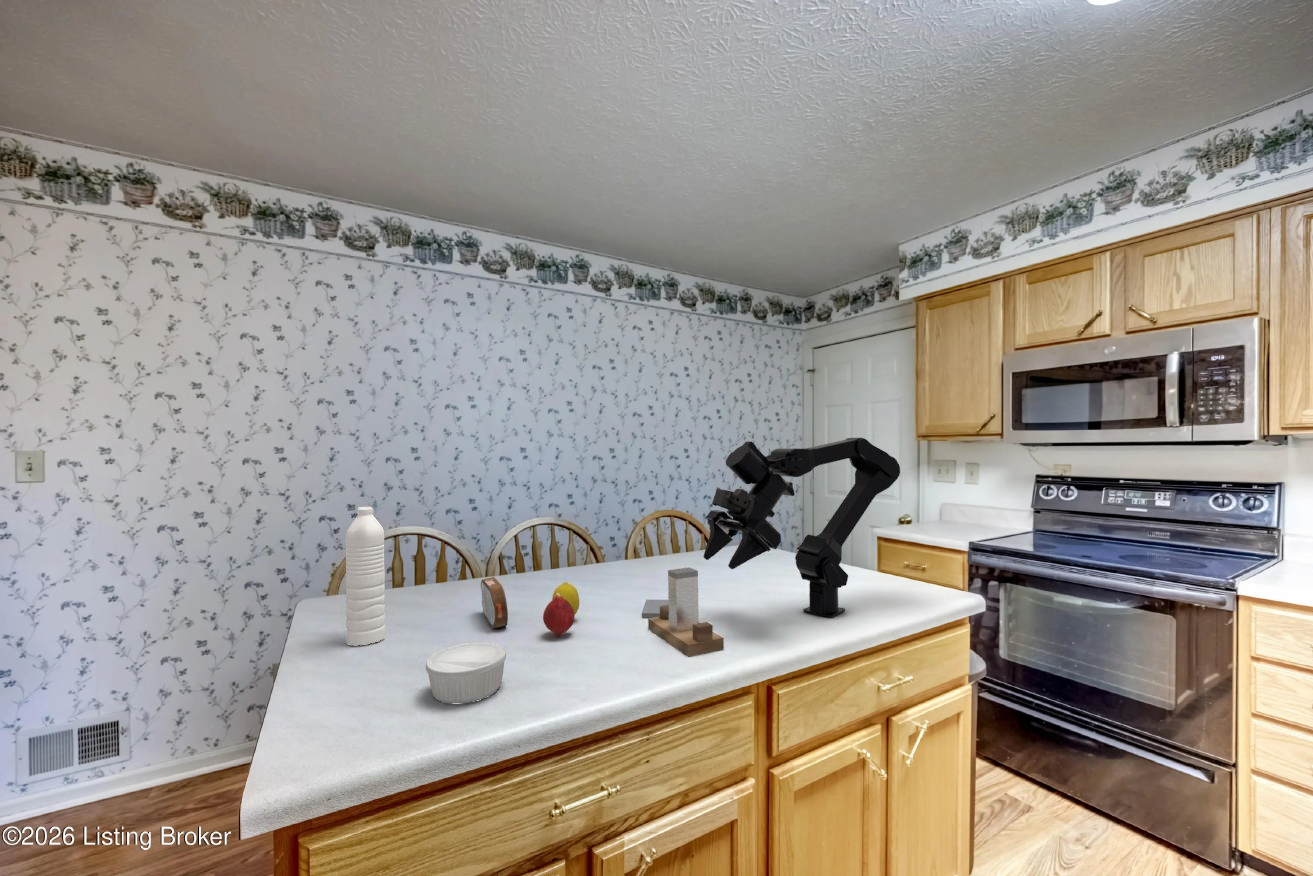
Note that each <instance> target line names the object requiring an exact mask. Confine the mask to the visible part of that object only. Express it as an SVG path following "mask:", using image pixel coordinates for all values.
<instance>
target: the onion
mask: <svg viewBox="0 0 1313 876" xmlns="http://www.w3.org/2000/svg"><path fill="white" fill-rule="evenodd" d="M575 615H576V614H574V610H573V607H572V606H571V605H570V603H569V602H568V601H567V600H566V599H564V598H563V597H561V596H560V594H559V593H556V596H555V599H553V600H552V599H551V600H550V601H549V603H548V604H547V605H546V606H545V608H544V610H543V614H542V620H543V623H544V625H545V627H546V628H547V629H548V630H549V631H550V632H551V633H552V634H554V635H555V636H556V637H560V636H562V635H564V634H565V633H566V632H568V630H569V629H571V627H572V626H573V624H574V623H575V622H574V621H575Z"/></svg>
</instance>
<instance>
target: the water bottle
mask: <svg viewBox="0 0 1313 876" xmlns="http://www.w3.org/2000/svg"><path fill="white" fill-rule="evenodd" d="M356 513H357V515H356V516H355V518H354V519H353V521H352V522H351V524H350V526H348V529H346V532H345V537H344V539H345V555H346V556H345V573H346V574H345V586H346V589H345V598H346V599H345V604H346V607H345V608H346V609H345V617H346V620H345V627H346V631H345V634H346V635H345V636H346V637H345V640H346V641H345V642H346V644H347V643H348V644H351V645H350V646H352V645H360V646H361V645H365V644H370V643H372V644H373V643H375V642H378V641H380V640H381V641H383V640H384V639H385V638H386V614H385V613H386V605H385V604H386V594H385V593H386V584H385V581H386V580H385V579H386V575H385V568H386V567H385V530H384V528H383V526H382V525H381V524H380V522H379V521H378V520H377V518H376V517H375V515H373V514H374V508H373V507H372V506H359V507H357V512H356ZM382 639H383V640H382ZM381 641H380V642H381ZM378 643H379V642H378ZM348 644H347V645H348ZM375 644H376V643H375ZM370 645H371V644H370Z"/></svg>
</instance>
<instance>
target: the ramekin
mask: <svg viewBox="0 0 1313 876" xmlns="http://www.w3.org/2000/svg"><path fill="white" fill-rule="evenodd" d="M506 659H507V651H506V648H505V647H503V646H502V645H500V644H497V643H492V642H483V641H480V642H465V643H460V644H456V645H453V646H448V647H446V648H443V649H441V650H438V651H437V652H435V653H433V654H432V655H431V656H429V657H428V658H427V660H426V662H425V671H426V672H427V674H428V679H429V684H430V689H431V692H432V696H433V698H435V699H436V700H437V701H438V700H439V701H438V702H440V701H441V702H440V703H442V702H444V703H443V704H445V703H468V704H470V703H469V702H473V701H477V700H480V699H483V698H485V699H487V698H486V697H487V696H489V697H491V696H492V695H494V694H495V693H496V692H497V691H498V690H499V688H500V686H501V685H502V682H503V675H504V667H505V661H506ZM497 689H498V690H497ZM494 692H495V693H494ZM493 693H494V694H493ZM491 694H492V695H491ZM490 695H491V696H490ZM483 700H484V699H483ZM480 701H481V700H480ZM477 702H478V701H477ZM473 703H474V702H473Z"/></svg>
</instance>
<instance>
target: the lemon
mask: <svg viewBox="0 0 1313 876" xmlns="http://www.w3.org/2000/svg"><path fill="white" fill-rule="evenodd" d="M556 593H559V594H560V596H561V597H563V598H564V599H566V600H567V601H568V602H569V603H570V605H571V606H572V607H573V610H574V614H575V615H576V614H578V613H577V612H579V611H578V610H579V608H580V596H579V592H578V589H577V588H576V587H575V586H574V585H573V584H571V583H569V582H568V581H564V582H563V583H562V584H560V585H558V586H557V587H556V588H555V589H554V592H553V594H552V597H551V601H552V600H553V599H555V596H556Z"/></svg>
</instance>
